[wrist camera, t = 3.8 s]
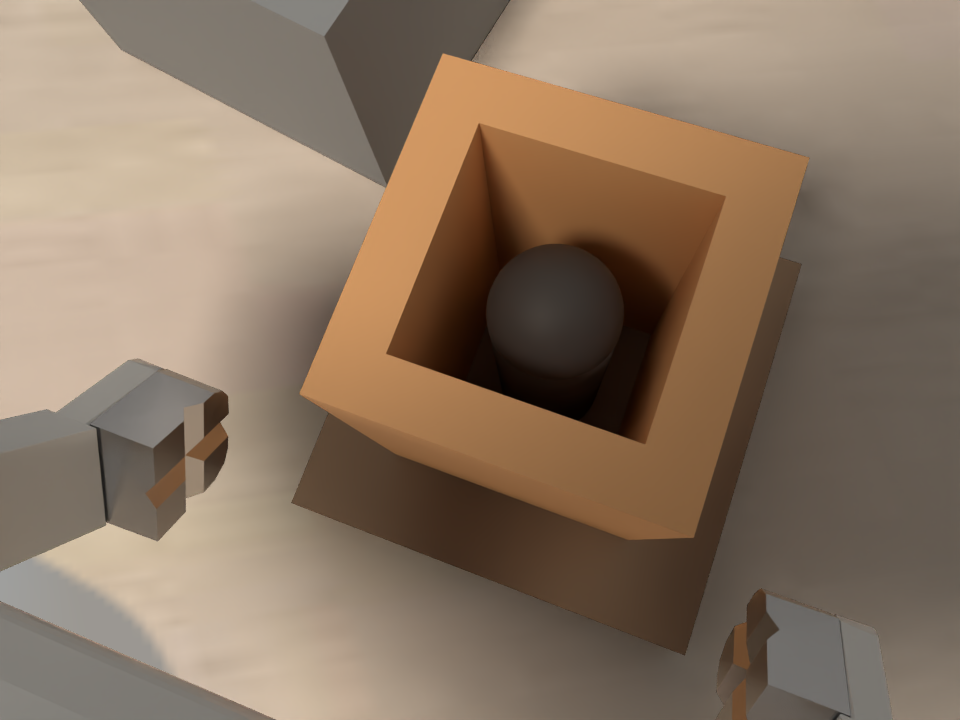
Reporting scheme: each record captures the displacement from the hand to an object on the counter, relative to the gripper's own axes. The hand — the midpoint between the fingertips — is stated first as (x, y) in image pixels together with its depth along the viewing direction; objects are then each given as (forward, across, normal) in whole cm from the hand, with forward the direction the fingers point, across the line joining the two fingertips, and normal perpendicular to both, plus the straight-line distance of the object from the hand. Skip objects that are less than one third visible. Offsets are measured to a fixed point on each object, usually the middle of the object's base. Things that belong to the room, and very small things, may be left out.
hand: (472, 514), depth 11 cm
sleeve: (+8, 0, +3) cm, 8 cm away
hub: (+16, +10, -3) cm, 19 cm away
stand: (+9, 0, +4) cm, 10 cm away
